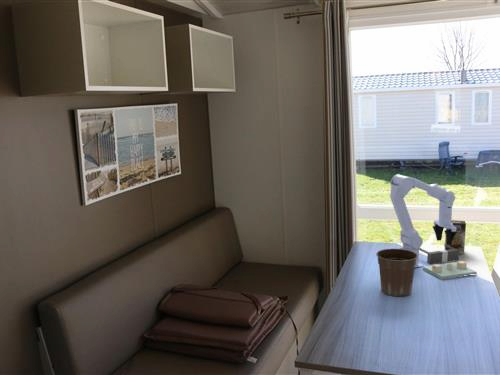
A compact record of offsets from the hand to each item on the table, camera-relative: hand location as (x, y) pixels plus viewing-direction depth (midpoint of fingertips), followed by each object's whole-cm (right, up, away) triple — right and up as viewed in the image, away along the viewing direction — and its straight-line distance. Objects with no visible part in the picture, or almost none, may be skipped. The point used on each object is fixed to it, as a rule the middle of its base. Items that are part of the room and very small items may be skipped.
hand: (443, 242), depth 249 cm
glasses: (-1, -9, +5) cm, 10 cm away
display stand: (-3, -12, -13) cm, 18 cm away
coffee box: (+11, -7, +15) cm, 20 cm away
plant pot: (-33, -17, -34) cm, 50 cm away
